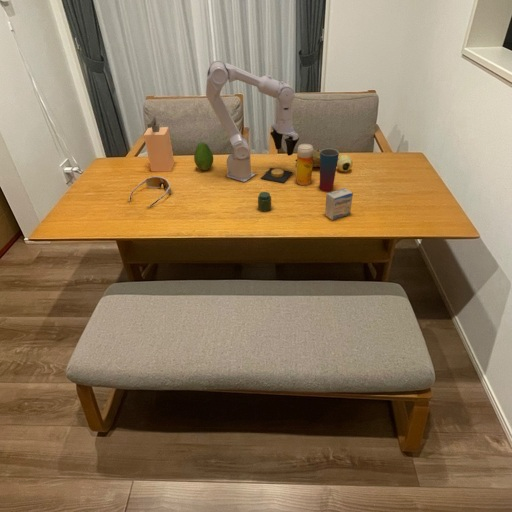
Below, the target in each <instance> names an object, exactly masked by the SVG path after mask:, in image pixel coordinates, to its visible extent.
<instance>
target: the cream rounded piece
mask: <svg viewBox="0 0 512 512" xmlns="http://www.w3.org/2000/svg"><path fill="white" fill-rule="evenodd" d="M353 163H354V162H353V159H352V158H351V156H349V155H347V154H343V155H339V156H338V162H337V167H336V169H338V170H339V171H340V172H348V171H349V170H351V168H352V167H353Z"/></svg>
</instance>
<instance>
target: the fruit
mask: <svg viewBox="0 0 512 512" xmlns="http://www.w3.org/2000/svg"><path fill="white" fill-rule="evenodd" d="M193 154H194V156H193V161H194V164H195V166H196V167H197V168H198V169H199V170H201V171H207V170H209V169H210V168H211V167H212V166H213V164H214V154H213V152H212V150H211V148H210V147H209V145H208V144H207V143H206V142H199V143H197V146H196V148H195V151H194V153H193Z"/></svg>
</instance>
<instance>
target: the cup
mask: <svg viewBox="0 0 512 512" xmlns="http://www.w3.org/2000/svg"><path fill="white" fill-rule="evenodd" d="M320 150H321V151H320V167H319V191H322V192H326V193H330V192H333V189H334V184H335V178H336V172H337V162H338V158H339V157H340V155H339V154H340V151H339V150H338V149H335V148H331V147H327V148H322V149H320Z"/></svg>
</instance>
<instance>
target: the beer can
mask: <svg viewBox="0 0 512 512" xmlns="http://www.w3.org/2000/svg"><path fill="white" fill-rule="evenodd" d="M313 150H315V149H314V146H313V145H312V144H310V143H301V144H299V145H298V147H297V150H296V151H297V152H296V153H297V154H296V159H297V162H296V163H297V164H296V173H295V174H296V175H295V176H296V177H295V181H296V183H297V184H298V185H299V186H300V185H301V186H308V185H310V183H311V182H312V181H313V180H312V179H313V166H312V165H313Z"/></svg>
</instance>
